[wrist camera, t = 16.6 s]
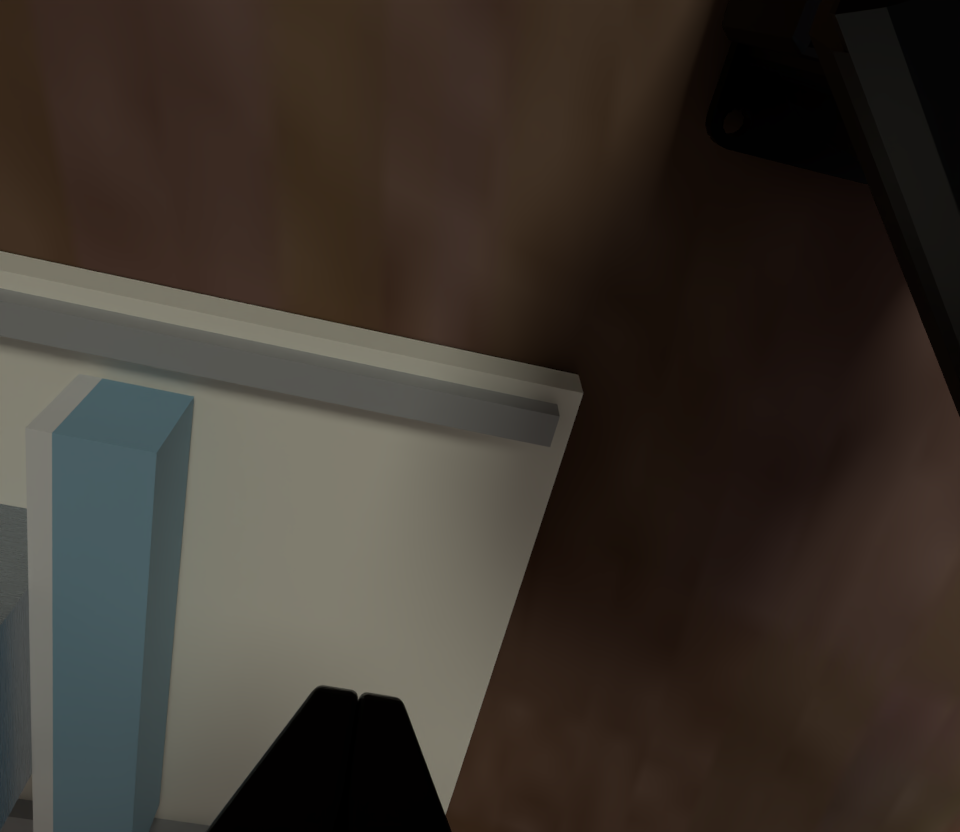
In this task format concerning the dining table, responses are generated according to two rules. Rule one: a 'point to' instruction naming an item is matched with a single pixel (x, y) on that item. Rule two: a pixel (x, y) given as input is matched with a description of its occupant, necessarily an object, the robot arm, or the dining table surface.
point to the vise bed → (305, 509)
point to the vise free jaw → (103, 598)
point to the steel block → (14, 659)
